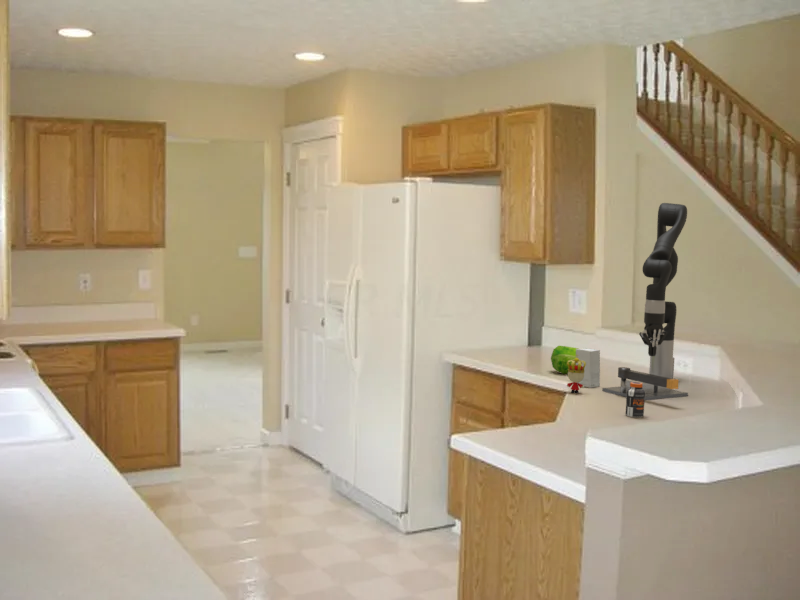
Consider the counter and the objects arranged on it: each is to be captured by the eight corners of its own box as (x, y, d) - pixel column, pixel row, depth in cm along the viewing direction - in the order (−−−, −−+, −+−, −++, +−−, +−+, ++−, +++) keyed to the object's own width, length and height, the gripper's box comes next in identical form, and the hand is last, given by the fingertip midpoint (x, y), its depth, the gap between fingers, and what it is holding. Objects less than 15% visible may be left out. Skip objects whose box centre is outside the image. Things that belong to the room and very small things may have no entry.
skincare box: (599, 387, 352) (601, 350, 351) (589, 388, 349) (590, 350, 348) (584, 383, 359) (586, 347, 358) (573, 384, 356) (575, 348, 355)
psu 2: (653, 386, 350) (653, 376, 349) (670, 390, 342) (671, 380, 341) (640, 388, 346) (640, 377, 346) (657, 392, 338) (658, 381, 338)
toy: (585, 392, 340) (587, 353, 339) (583, 395, 333) (585, 355, 332) (567, 390, 342) (568, 352, 341) (564, 393, 336) (566, 354, 334)
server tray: (648, 386, 356) (649, 370, 356) (687, 396, 339) (688, 378, 338) (602, 391, 344) (603, 374, 343) (640, 400, 326) (641, 382, 326)
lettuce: (598, 377, 375) (599, 349, 374) (550, 375, 378) (551, 347, 377) (596, 372, 388) (597, 345, 387) (549, 370, 391) (550, 343, 390)
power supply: (636, 388, 345) (637, 377, 345) (653, 392, 337) (654, 381, 337) (623, 389, 341) (623, 379, 341) (640, 393, 334) (641, 383, 333)
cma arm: (679, 388, 315) (679, 378, 315) (670, 389, 313) (671, 379, 312) (623, 376, 338) (624, 366, 338) (615, 376, 336) (615, 367, 335)
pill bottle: (632, 418, 295) (634, 384, 294) (621, 414, 300) (623, 381, 299) (647, 417, 297) (649, 383, 296) (636, 413, 303) (637, 380, 302)
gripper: (649, 313, 334) (646, 358, 336) (674, 312, 341) (671, 356, 342) (634, 310, 341) (632, 355, 343) (660, 309, 347) (657, 353, 349)
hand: (652, 355), depth 342 cm, fingers closed
